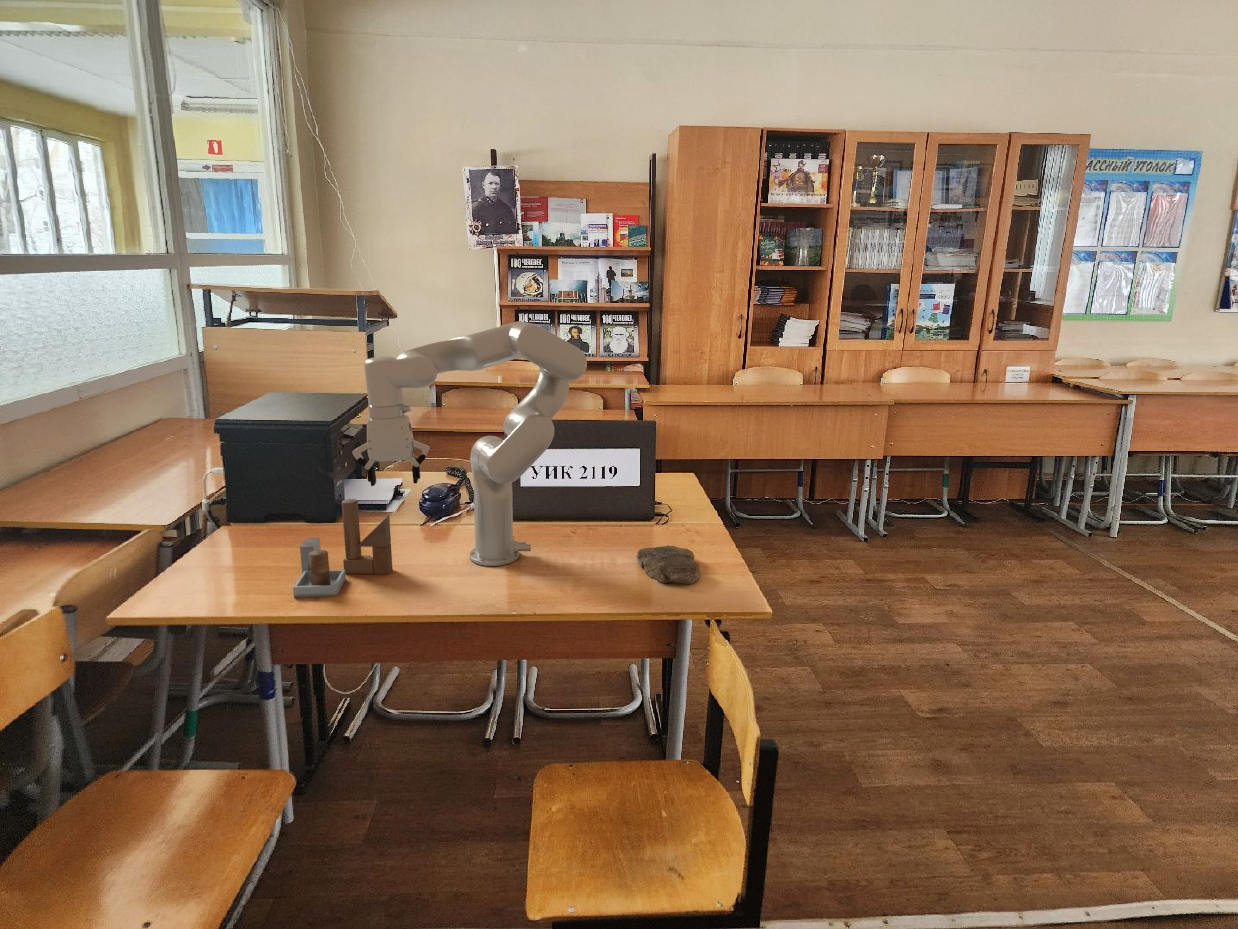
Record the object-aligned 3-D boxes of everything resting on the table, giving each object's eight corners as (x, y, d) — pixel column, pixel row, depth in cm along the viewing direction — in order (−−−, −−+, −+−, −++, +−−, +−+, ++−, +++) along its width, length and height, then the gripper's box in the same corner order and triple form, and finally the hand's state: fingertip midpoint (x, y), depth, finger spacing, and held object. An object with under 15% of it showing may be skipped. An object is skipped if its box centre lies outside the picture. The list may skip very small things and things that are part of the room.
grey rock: (710, 588, 177) (687, 555, 196) (710, 569, 176) (688, 538, 195) (652, 593, 175) (635, 559, 194) (652, 574, 174) (635, 542, 192)
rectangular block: (322, 568, 183) (319, 537, 181) (316, 578, 177) (313, 546, 175) (309, 568, 182) (306, 537, 180) (302, 578, 177) (299, 546, 175)
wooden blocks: (388, 575, 180) (383, 504, 175) (343, 574, 180) (338, 503, 175) (393, 569, 183) (388, 499, 178) (349, 568, 183) (344, 498, 179)
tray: (345, 579, 177) (345, 569, 176) (336, 596, 168) (336, 586, 167) (305, 580, 175) (304, 570, 175) (293, 597, 167) (292, 587, 166)
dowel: (332, 582, 174) (329, 549, 172) (328, 589, 170) (325, 556, 168) (314, 582, 173) (311, 550, 171) (309, 589, 169) (306, 556, 167)
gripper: (427, 406, 175) (434, 476, 180) (351, 410, 173) (359, 480, 177) (423, 413, 168) (430, 485, 172) (344, 417, 166) (353, 490, 170)
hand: (394, 483), depth 175 cm, fingers open, 9 cm apart
